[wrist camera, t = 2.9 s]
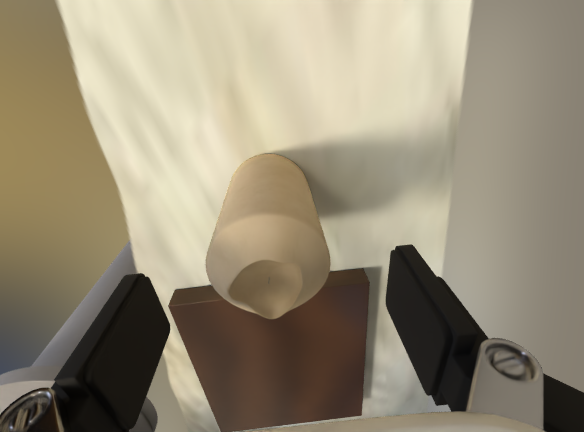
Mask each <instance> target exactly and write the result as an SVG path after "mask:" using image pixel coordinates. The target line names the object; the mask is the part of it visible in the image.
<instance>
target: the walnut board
mask: <svg viewBox="0 0 584 432" xmlns="http://www.w3.org/2000/svg"><path fill="white" fill-rule="evenodd" d="M368 300H369V280H368V278H367V276H366V274H365V271H364V269H363V268H362V269H353V270H344V271H336V272H329V274H328V277H327V279H326V282H325V283H324V285H323V286H322V288H321V289H320V290H319V291H318V293H316V294H315V295H314V296H313V297H312V298H311V299H309V300H308V301H306V302H305V303H303V304H301V305H300V306H298V307H296V308H294V309H292V310H290V311H288V312H286V313H285V314H283V315H282V316H280V317H278V318H276V319H268V318H265V317H262V316H260V315H259V314H256V313H253V312H250V311H247V310H244V309H241V308H239V307H237V306H235V305H233V304H231V303H230V302H228V301H227V300H225V299H224V298H223V297H222V296H220V295H219V294H218V292H217V291H216V290H215V289H214V287H213V286H205V287H196V288H188V289H179V290H175V291H174V293H173V296H172V298H171V300H170V303H169V305H168V307H169V309H170V311H171V314H172V316H173V319H174V321H175V323H176V326H177V328H178V331H179V333H180V335H181V338H182V340H183V342H184V345H185V347H186V350H187V352H188V354H189V357H190V359H191V362H192V364H193V366H194V369H195V371H196V374H197V376H198V378H199V381H200V383H201V385H202V388H203V390H204V393H205V395H206V397H207V400H208V402H209V405H210V407H211V409H212V412H213V414H214V417H215V419H216V421H217V424H218V426H219V429H220V431H221V432H233V431H241V430H249V429H257V428H265V427H273V426H281V425H289V424H297V423H305V422H313V421H321V420H329V419H337V418H345V417H353V416H361V415H362V401H363V384H364V367H365V351H366V334H367V317H368Z"/></svg>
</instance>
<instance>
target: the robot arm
mask: <svg viewBox="0 0 584 432" xmlns="http://www.w3.org/2000/svg"><path fill="white" fill-rule="evenodd" d="M386 307H387V310H388V312H389V314H390V316H391V319H392V321H393V323H394V325H395V327H396V330H397V332H398V334H399V336H400V338H401V341H402V343H403V345H404V347H405V349H406V352H407V354H408V356H409V358H410V360H411V363H412V365H413V367H414V369H415V371H416V374H417V376H418V378H419V380H420V383H421V385H422V387H423V389H424V391H425V393H426V394H427V395H428V396H429V395H432V397H433V400H434V401H435V404H436V405H437V406H438V405H447V404H448V406H449V408H450V410H451V412H431V413H420V414H408V415H397V416H385V417H376V418H366V419H357V420H348V421H338V422H329V423H319V424H310V425H301V426H292V427H283V428H274V429H265V430H256V431H247V432H584V393H583V392H581V391H579V390H577V389H575V388H573V387H571V386H568V385H566V384H564V383H562V382H560V381H558V380H556V379H554V378H552V377H550V376H547V375H545V374H543V371H542V367H541V366H540V364H539V362H538V361H537V359H536V358H535V357H534V356H533V355H532V354H531V353H530V352H529V351H527V350H526V349H524V348H523V347H522V346H520V345H518V344H516V343H514V342H512V341H509V340H505V339H500V338H491V339H488V337H487V336H486V335H485V333H484V332H483V331H482V329H481V328H480V327H479V325H478V324H477V323H476V322H475V320H474V319H473V318H472V316H471V315H470V314H469V312H468V311H467V310H466V308H465V307H464V306H463V305H462V303H461V302H460V301H459V299H458V298H457V297H456V295H455V294H454V293H453V291H452V290H451V289H450V287H449V286H448V285H447V284H446V282H445V281H444V280H443V279H442V278H441V277H436V275H435V274H434V273H433V271H432V270H431V269H430V267H429V266H428V265H427V263H426V262H425V261H424V259H423V258H422V257H421V255H420V254H419V253H418V251H417V250H416V249H415V247H414V246H413V245H402V246H396V248H395V250H392V251H391V255H390V264H389V273H388V283H387V292H386ZM169 333H170V323H169V321H168V319H167V316H166V314H165V312H164V310H163V307H162V305H161V303H160V301H159V298H158V296H157V294H156V292H155V289H154V287H153V285H152V283H151V280H150V279H149V277H145V275H144V274H141V273H140V274H131V275H126V276H124V277H123V279H122V280H121V282H120V283H119V284H118V286H117V287H116V289H115V290H114V292H113V293H112V295H111V296H110V298H109V299H108V301H107V302H106V304H105V305H104V307H103V308H102V310H101V311H100V313H99V314H98V316H97V317H96V319H95V320H94V322H93V323H92V325H91V326H90V327H89V329H88V330H87V332H86V333H85V335H84V336H83V338H82V339H81V341H80V342H79V344H78V345H77V347H76V348H75V350H74V351H73V353H72V354H71V356H70V357H69V359H68V360H67V362H66V363H65V365H64V366H63V368H62V369H61V370H60V372H59V373H58V375H57V376H56V378H55V379H54V380H55V383H54V384H53V386H52V387H51V389H50V388H39V389H36V390H32V391H30V392H28V393H26V394H24V395H22V396H21V397H20V398H18V399H17V400H15V401H14V402H12V403H11V404H10V405H9V406H8V407H7V408H6V409H5V410H4V411H3V412H2V413H1V414H0V432H129V430H130V429H132V428H133V427H134V426H135V424H136V422H137V419H138V417H139V414H140V411H141V409H142V406H143V403H144V401H145V398H146V395H147V392H148V390H149V387H150V384H151V382H152V379H153V376H154V374H155V371H156V368H157V366H158V363H159V360H160V357H161V355H162V352H163V349H164V347H165V344H166V341H167V339H168V336H169Z"/></svg>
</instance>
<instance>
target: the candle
mask: <svg viewBox="0 0 584 432" xmlns="http://www.w3.org/2000/svg"><path fill="white" fill-rule="evenodd" d="M329 271H330V254H329V250H328V247H327V243H326V240H325V237H324V234H323V230H322V227H321V224H320V221H319V218H318V214H317V211H316V208H315V205H314V202H313V198H312V195H311V192H310V189H309V186H308V183H307V180H306V178H305V176H304V174H303V172H302V171H301V169H300V168H299V167H298V166H297V165H296V164H295V163H293V162H292V161H291V160H289V159H287V158H285V157H283V156H279V155H275V154H262V155H258V156H254V157H252V158H250V159H248V160H246V161H245V162H244V163H242V164H241V165H240V166H239V167H238V168H237V170H236V171H235V173H234V174H233V176H232V179H231V181H230V184H229V187H228V190H227V193H226V196H225V199H224V202H223V205H222V208H221V211H220V215H219V218H218V221H217V224H216V227H215V230H214V233H213V236H212V239H211V242H210V246H209V249H208V252H207V256H206V272H207V275H208V279H209V281H210V283H211V285H212V286H213V287H214V289H215V290H216V291H217V292H218V294H219V295H220V296H222V297H223V298H224V299H225V300H227V301H228V302H230V303H231V304H233V305H235V306H237V307H239V308H241V309H244V310H247V311H250V312H253V313H256V314H259V315H260V316H262V317H265V318H268V319H276V318H278V317H280V316H282V315H283V314H285V313H286V312H288V311H290V310H292V309H294V308H296V307H298V306H300V305H301V304H303V303H305V302H306V301H308V300H309V299H311V298H312V297H313V296H314V295H315V294H316V293H318V291H319V290H320V289H321V288H322V286H323V285H324V283H325V282H326V279H327V277H328V274H329Z"/></svg>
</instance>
